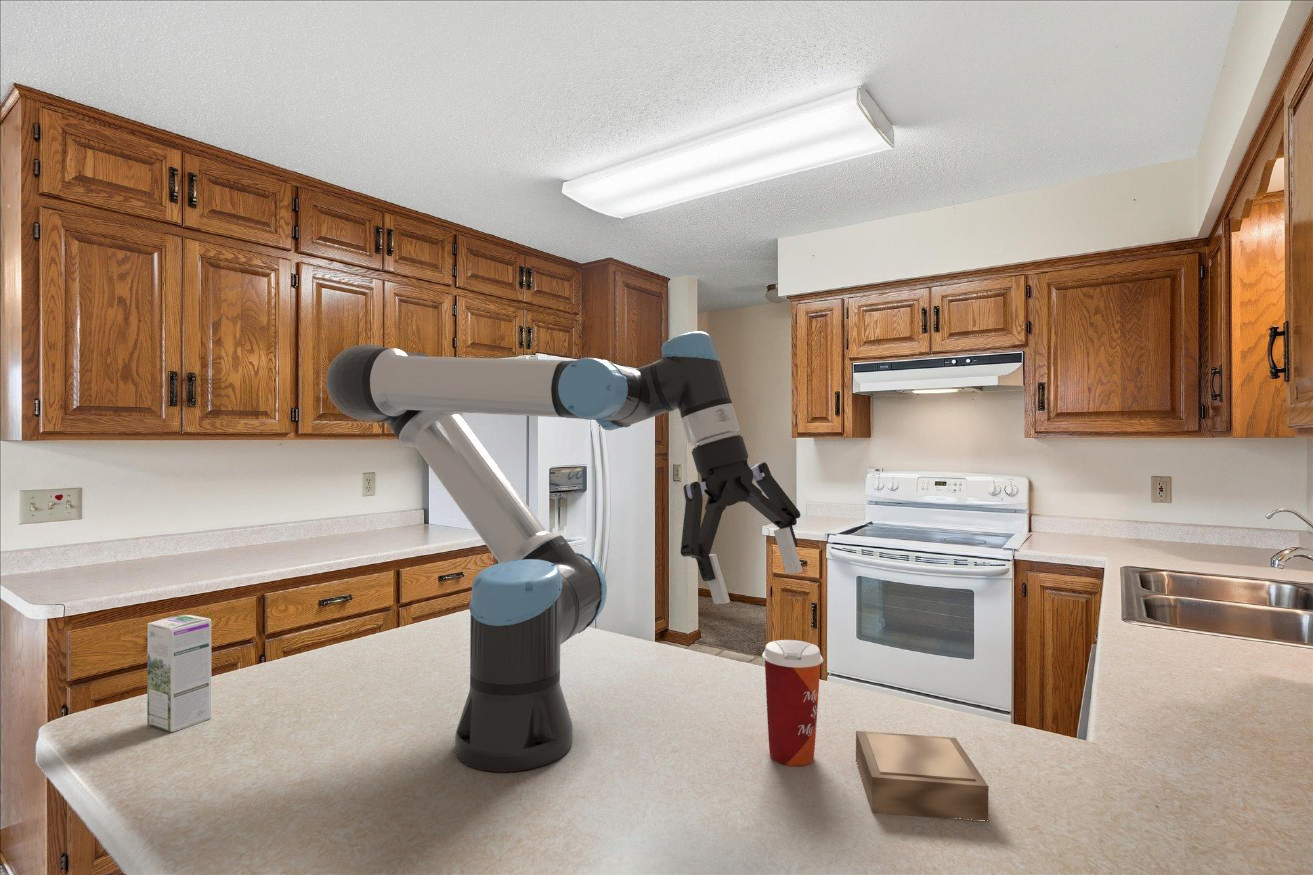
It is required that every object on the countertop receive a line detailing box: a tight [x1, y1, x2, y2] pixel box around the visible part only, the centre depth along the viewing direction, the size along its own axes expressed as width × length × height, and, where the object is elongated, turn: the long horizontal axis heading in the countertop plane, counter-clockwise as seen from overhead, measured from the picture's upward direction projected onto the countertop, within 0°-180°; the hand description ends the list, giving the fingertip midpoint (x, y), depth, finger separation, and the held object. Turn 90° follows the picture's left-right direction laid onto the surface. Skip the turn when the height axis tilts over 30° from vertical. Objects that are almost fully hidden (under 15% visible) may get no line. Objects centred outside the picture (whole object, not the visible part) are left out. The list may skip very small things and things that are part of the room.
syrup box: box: [146, 614, 212, 733], centre depth 95 cm, size 6×6×14 cm
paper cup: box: [761, 639, 824, 768], centre depth 87 cm, size 8×8×14 cm
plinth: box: [855, 730, 989, 821], centre depth 79 cm, size 12×12×4 cm
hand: (759, 587), depth 93 cm, fingers open, 13 cm apart
